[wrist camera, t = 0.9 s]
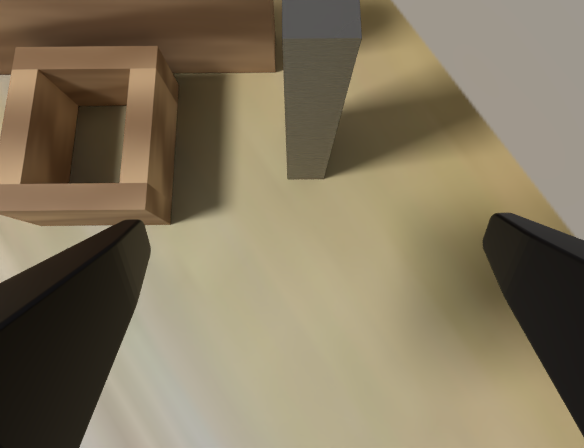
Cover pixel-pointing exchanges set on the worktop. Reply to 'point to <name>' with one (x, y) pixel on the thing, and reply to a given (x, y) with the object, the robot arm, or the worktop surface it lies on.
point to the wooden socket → (110, 95)
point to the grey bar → (316, 78)
